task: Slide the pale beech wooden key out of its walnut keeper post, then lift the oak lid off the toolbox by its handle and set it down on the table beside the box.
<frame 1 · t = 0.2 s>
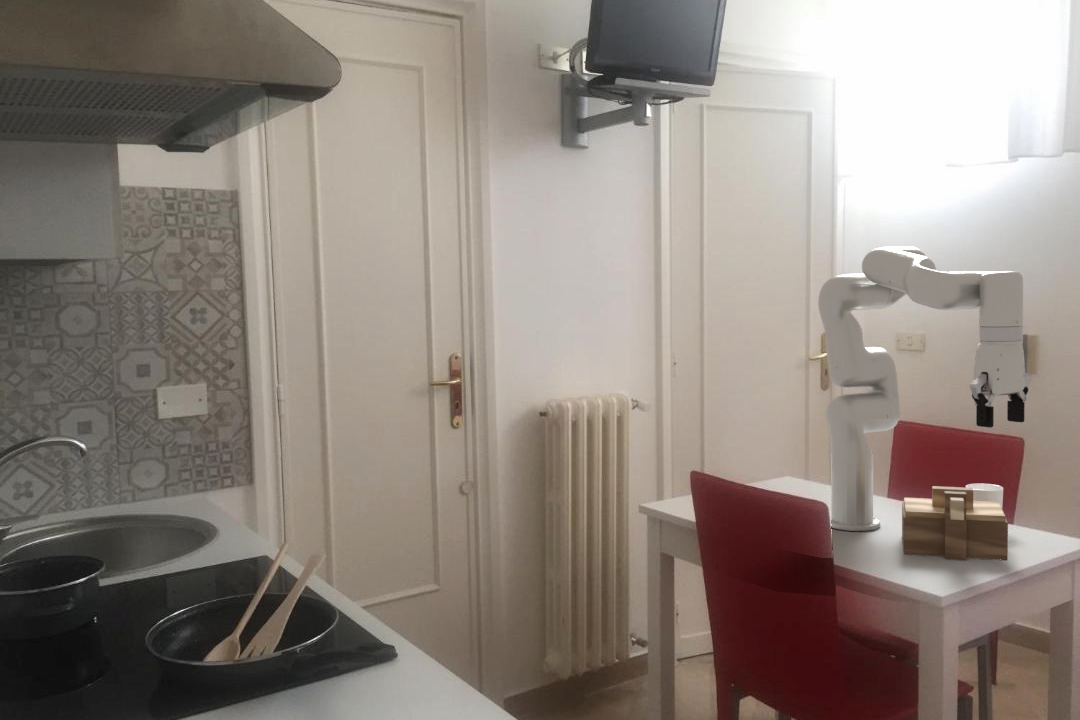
hand: (1000, 424, 180), 30 cm above the table, tool pointing down, fingers open, 9 cm apart
wooden key: (955, 504, 193), point 12 cm above the table, slide at 0.0 cm
lid: (952, 516, 201), point 7 cm above the table, touching toolbox
toolbox: (952, 548, 202), on the table
white cup: (984, 530, 216), on the table
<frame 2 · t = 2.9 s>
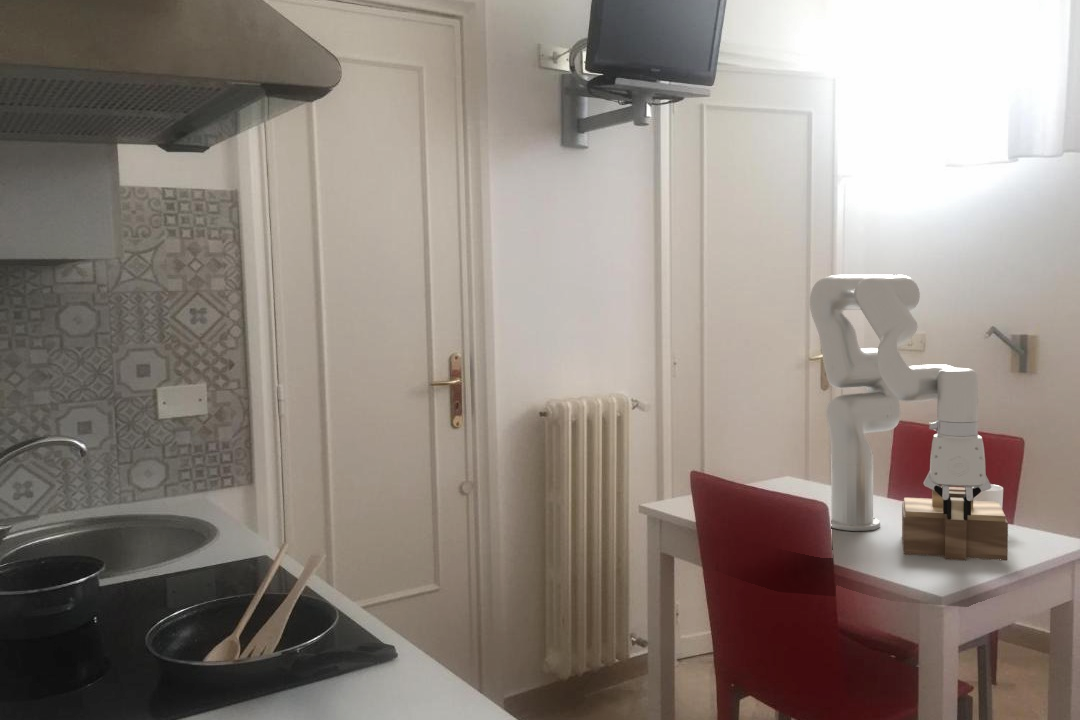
hand: (956, 517, 190), 10 cm above the table, tool pointing down, fingers closed on wooden key, 2 cm apart
wooden key: (955, 504, 193), point 12 cm above the table, slide at 0.0 cm, touching gripper
everything else where it was.
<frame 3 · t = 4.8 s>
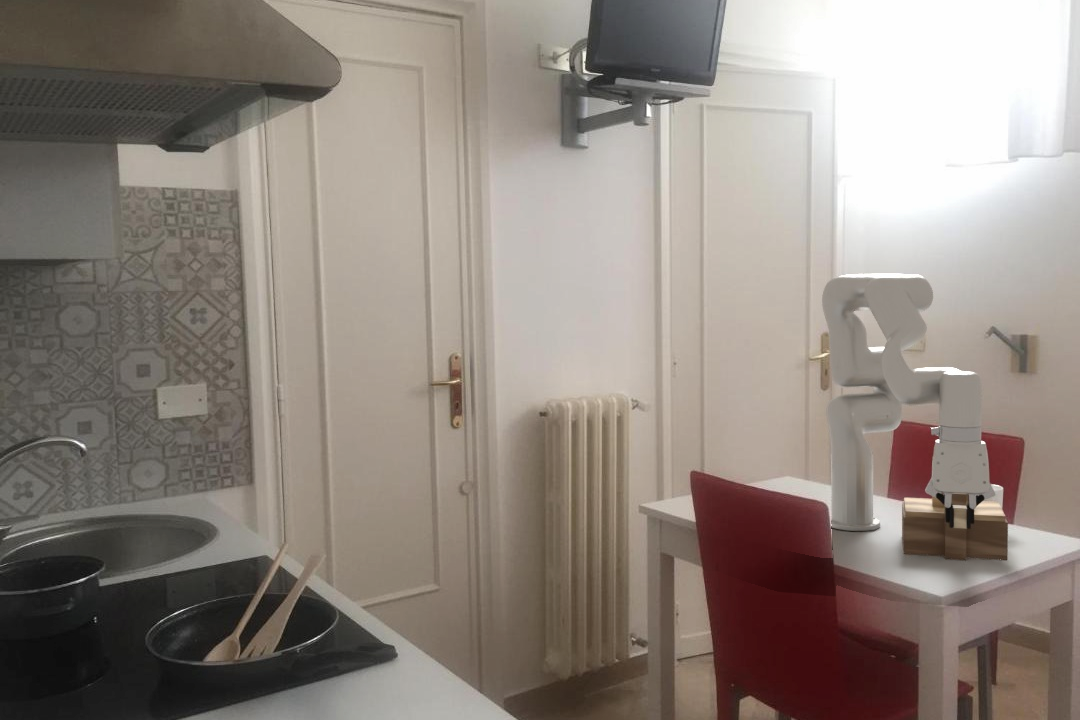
hand: (959, 525, 183), 10 cm above the table, tool pointing down, fingers closed on wooden key, 2 cm apart
wooden key: (958, 512, 186), point 12 cm above the table, slide at 6.8 cm, touching gripper
everything else where it was.
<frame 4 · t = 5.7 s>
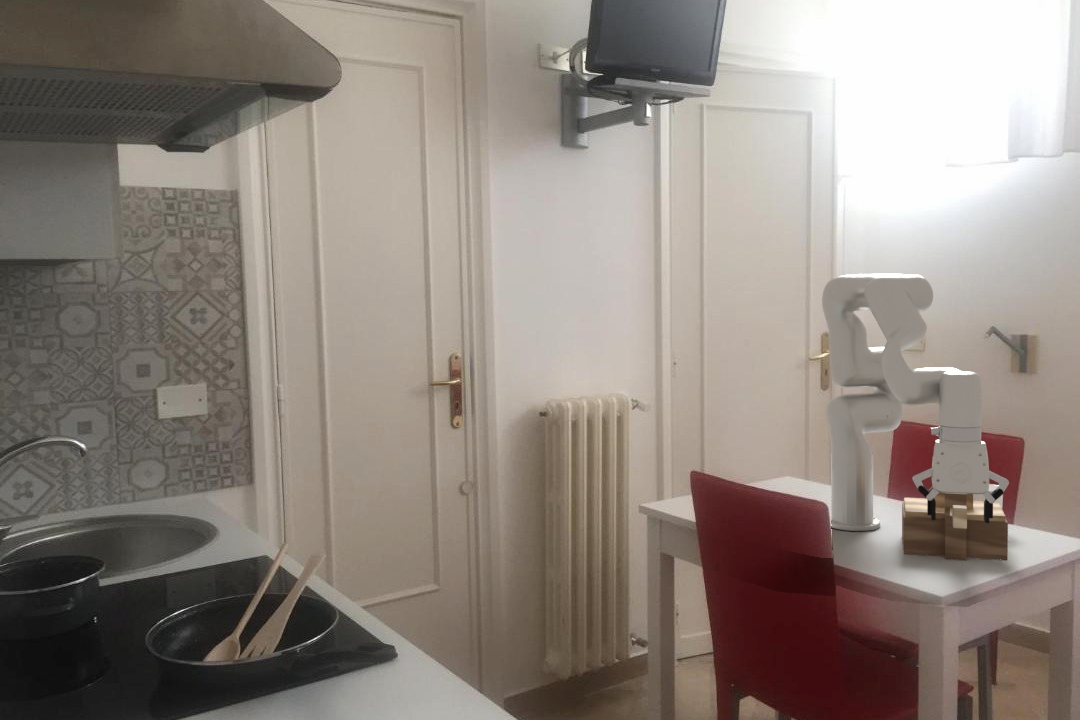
hand: (959, 520, 183), 11 cm above the table, tool pointing down, fingers open, 9 cm apart
wooden key: (958, 512, 186), point 12 cm above the table, slide at 6.8 cm
everything else where it was.
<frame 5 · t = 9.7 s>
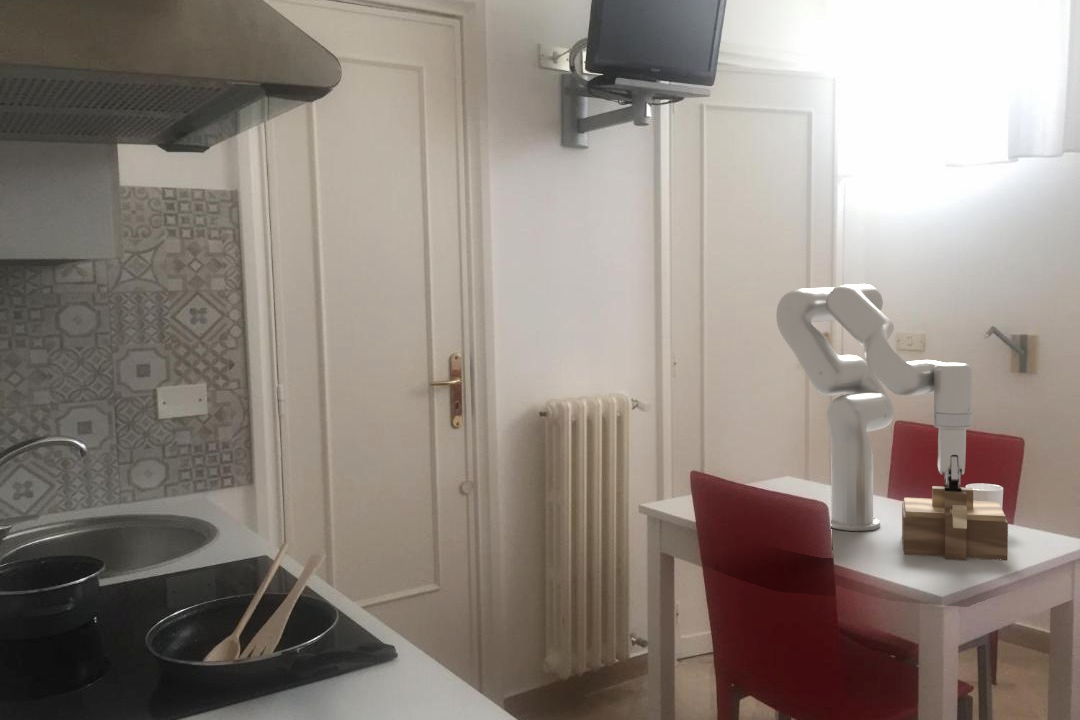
hand: (952, 503, 201), 10 cm above the table, tool pointing down, fingers closed on lid, 2 cm apart
lid: (952, 516, 201), point 7 cm above the table, touching gripper
everything else where it was.
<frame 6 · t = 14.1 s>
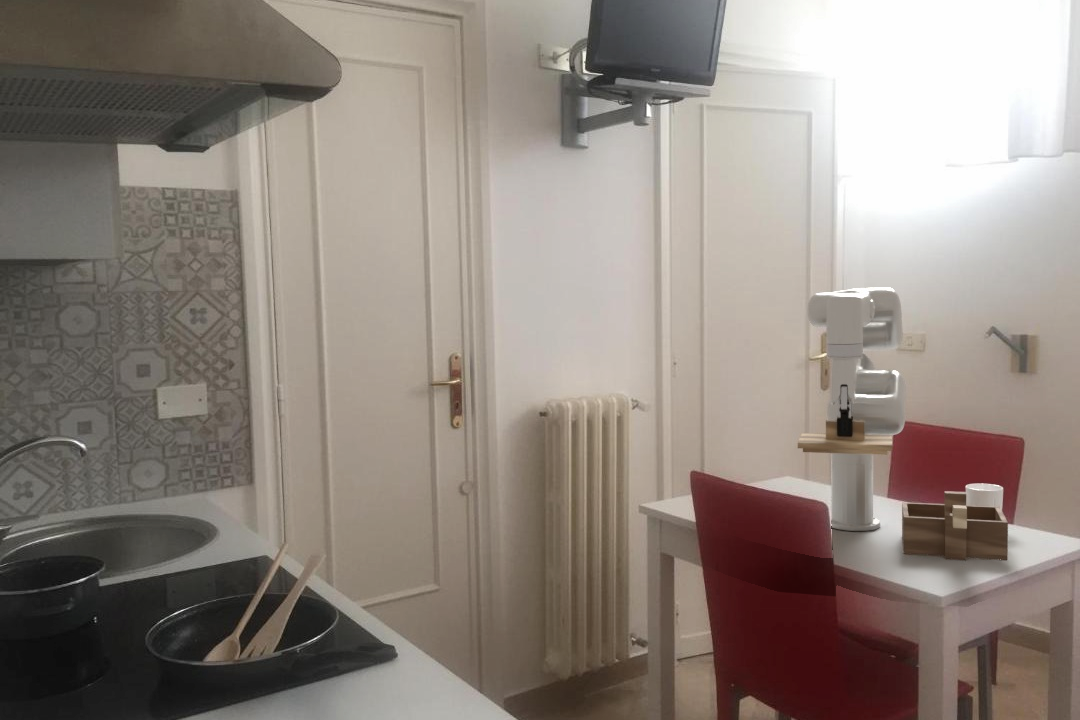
hand: (845, 434, 204), 25 cm above the table, tool pointing down, fingers closed on lid, 2 cm apart
lid: (845, 448, 204), point 22 cm above the table, touching gripper
everything else where it was.
when the fingers open (4 cm above the table, at t = 18.3 s): lid drops 1 cm, on the table.
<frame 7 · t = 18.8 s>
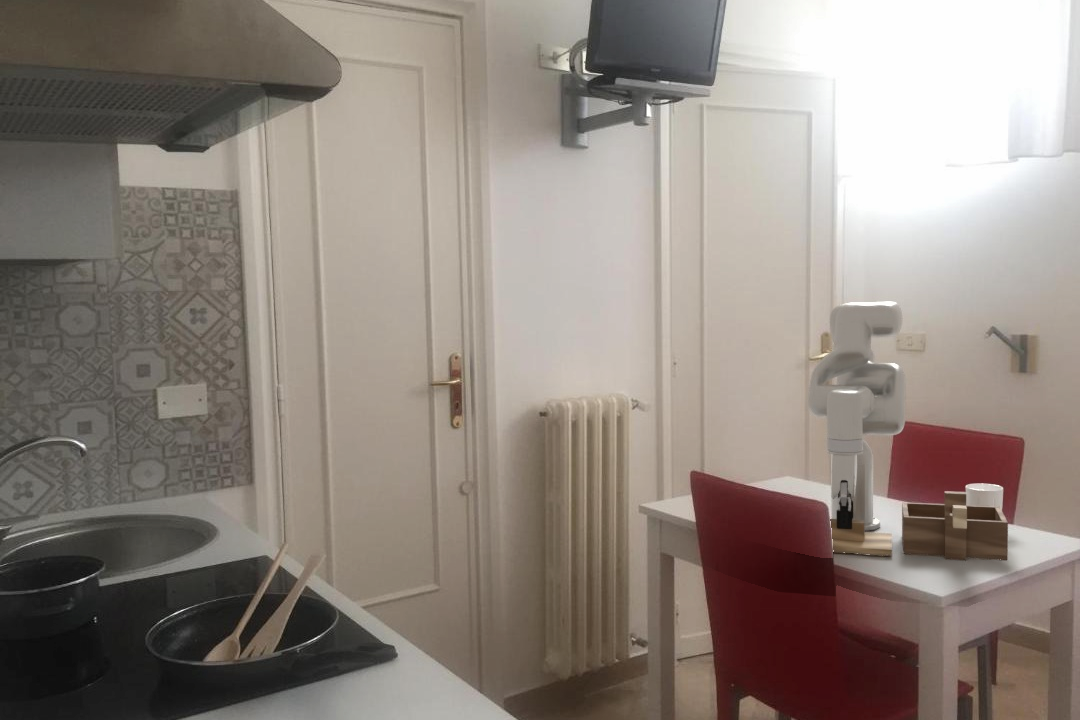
hand: (845, 523, 205), 5 cm above the table, tool pointing down, fingers open, 8 cm apart
lid: (845, 548, 206), on the table
everything else where it was.
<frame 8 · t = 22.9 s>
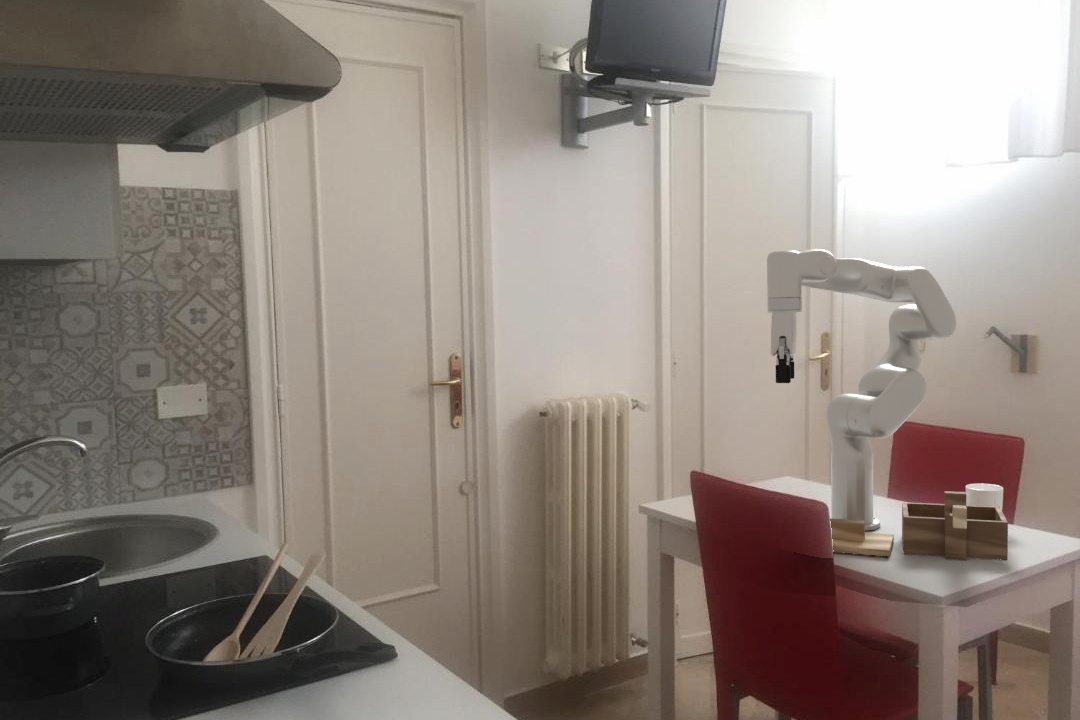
hand: (785, 380, 212), 36 cm above the table, tool pointing down, fingers open, 9 cm apart
nothing on the table moved.
at the end: wooden key slide at 6.8 cm; lid inside the target area (0.2 cm from its centre), on the table; lid tilted 0° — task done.
